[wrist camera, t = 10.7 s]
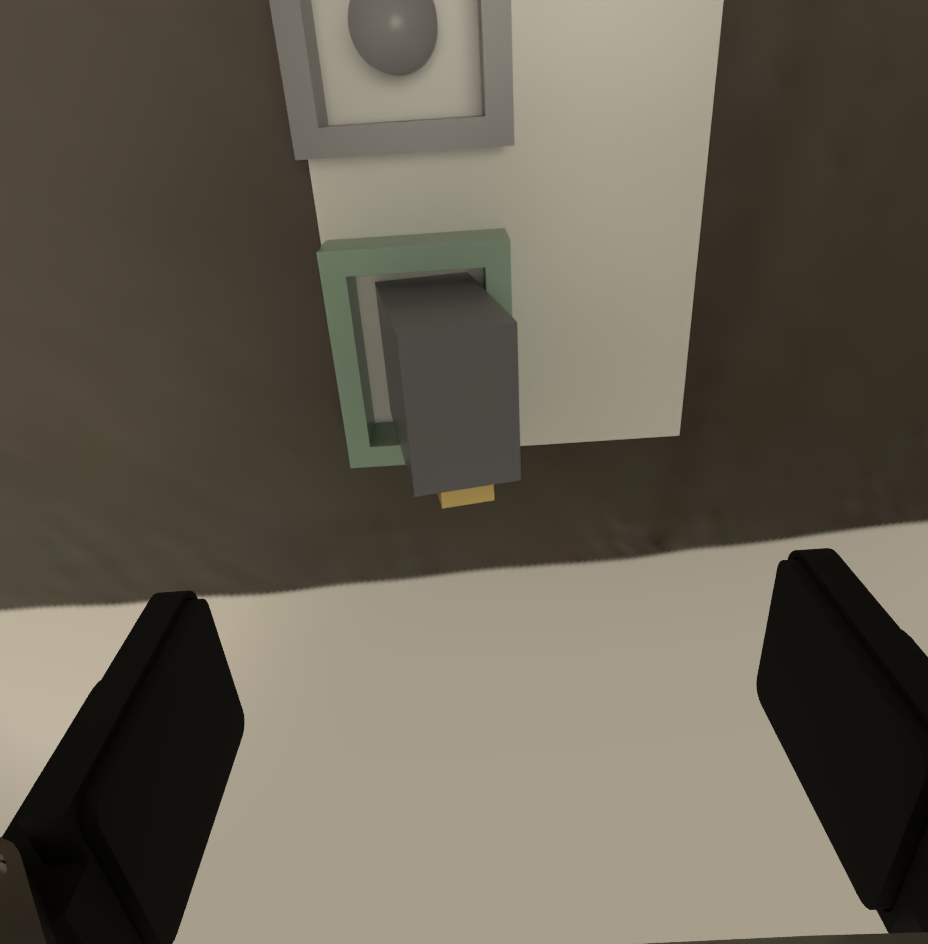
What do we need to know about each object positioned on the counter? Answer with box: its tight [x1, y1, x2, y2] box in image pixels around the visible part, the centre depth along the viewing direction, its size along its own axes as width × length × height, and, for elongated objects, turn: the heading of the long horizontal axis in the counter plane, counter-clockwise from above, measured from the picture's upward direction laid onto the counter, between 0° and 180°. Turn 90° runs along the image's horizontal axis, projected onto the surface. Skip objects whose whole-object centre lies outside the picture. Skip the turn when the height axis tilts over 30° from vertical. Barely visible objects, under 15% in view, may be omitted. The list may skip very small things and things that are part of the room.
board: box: [269, 0, 724, 446], centre depth 28 cm, size 16×22×4 cm
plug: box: [375, 272, 521, 509], centre depth 27 cm, size 4×7×8 cm, turn 4°
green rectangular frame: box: [316, 228, 512, 468], centre depth 30 cm, size 8×10×3 cm
